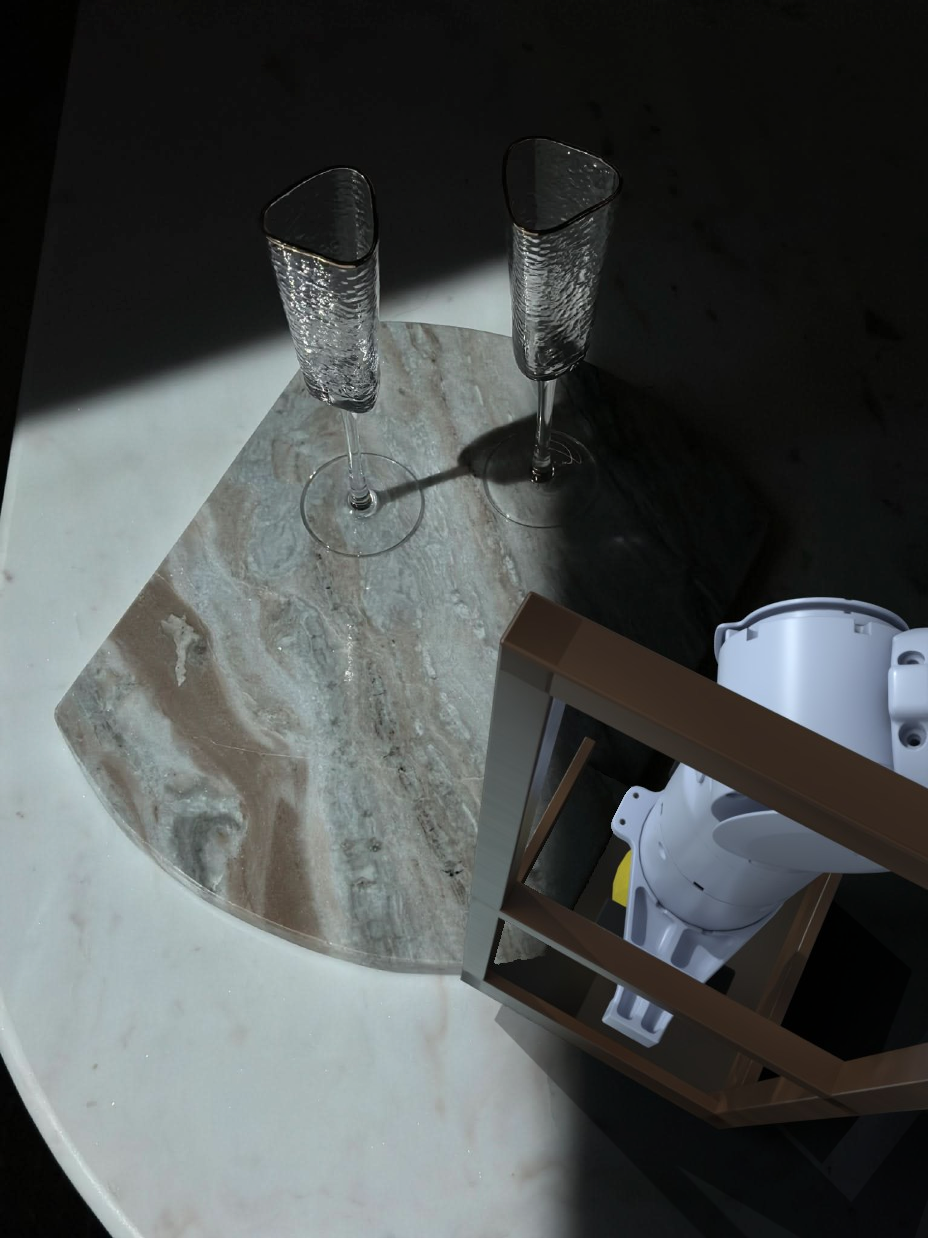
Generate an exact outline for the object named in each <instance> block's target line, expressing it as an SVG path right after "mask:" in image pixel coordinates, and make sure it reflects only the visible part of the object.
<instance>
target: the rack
mask: <svg viewBox="0 0 928 1238" xmlns="http://www.w3.org/2000/svg"><path fill="white" fill-rule="evenodd" d="M494 678H495V679H494V687H493V696H492V703H491V704H492V705H491V714H490V722H489V729H488V730H489V731H488V739H487V748H486V749H487V750H486V757H485V765H484V774H483V780H482V781H483V782H482V792H481V799H480V808H479V816H478V817H479V818H478V825H477V834H476V843H475V852H474V861H473V869H472V877H471V879H472V880H471V886H470V893H469V903H468V910H467V912H468V913H467V921H466V928H465V929H466V930H465V938H464V939H465V940H464V946H463V955H462V964H461V969H460V977H459V980H460V981H461V982H463V983H464V984H466V985H469V986H470V987H472V988H474V989H475V990H477V991H478V992H480V993H481V994H484V995H485V996H487V997H489V998H491V999H492V1000H495V1002H497V1003H498V1004H501V1005H503V1006H505V1007H506V1008H507V1009H510V1010H512V1011H513V1012H515V1013H517V1014H518V1015H520V1016H522V1017H523V1018H524V1019H527V1020H529V1021H530V1022H532V1023H534V1024H536V1025H538V1026H539V1027H541V1028H542V1029H544V1030H546V1031H547V1032H550V1033H551V1034H553V1035H555V1036H556V1037H558V1038H560V1039H561V1040H563V1041H565V1042H566V1043H568V1044H570V1045H572V1046H574V1047H575V1048H577V1049H578V1050H581V1051H582V1052H584V1053H586V1054H587V1055H589V1056H591V1057H593V1059H596V1060H598V1061H600V1062H601V1063H603V1064H604V1065H606V1066H608V1067H610V1068H612V1069H613V1070H615V1071H617V1072H618V1073H620V1074H622V1075H624V1076H625V1077H627V1078H629V1079H630V1080H632V1081H634V1082H636V1083H638V1084H639V1085H641V1086H643V1087H644V1088H646V1089H648V1090H650V1091H651V1092H653V1093H655V1094H656V1095H658V1096H659V1097H662V1098H663V1099H666V1100H667V1101H669V1102H670V1103H672V1104H674V1105H676V1106H677V1107H679V1108H681V1109H683V1110H685V1112H687V1113H689V1114H691V1115H692V1116H694V1117H697V1118H698V1119H700V1120H701V1121H704V1122H705V1123H707V1124H708V1125H710V1126H712V1127H713V1128H715V1129H717V1130H724V1129H734V1128H741V1127H753V1126H763V1125H772V1124H773V1125H774V1124H784V1123H793V1122H804V1121H805V1122H806V1121H814V1120H824V1119H835V1118H836V1119H837V1118H846V1117H860V1116H861V1117H862V1116H865V1115H866V1116H867V1115H868V1116H869V1115H877V1114H886V1113H887V1114H889V1113H900V1112H908V1111H920V1110H928V1042H923V1043H919V1044H915V1045H909V1046H906V1047H901V1048H898V1049H894V1050H888V1051H885V1052H880V1053H876V1054H871V1055H866V1056H863V1057H859V1058H854V1059H850V1060H846V1061H844V1060H843V1059H841V1058H839V1057H837V1056H836V1055H834V1054H832V1053H830V1052H828V1051H827V1050H826V1049H825V1050H824V1049H823V1048H821V1047H819V1046H818V1045H816V1044H814V1043H812V1042H810V1041H808V1040H806V1038H805V1039H804V1037H802V1036H799V1034H795V1033H794V1032H792V1031H791V1030H788V1029H787V1028H785V1027H783V1026H781V1025H782V1023H783V1022H784V1021H783V1020H784V1019H785V1015H786V1014H787V1010H788V1009H789V1006H790V1004H791V1001H792V999H793V996H794V994H795V991H796V989H797V987H798V984H799V982H800V980H801V977H802V974H803V972H804V970H805V968H806V965H807V962H808V960H809V958H810V955H811V953H812V950H813V948H814V945H815V943H816V941H817V938H818V936H819V933H820V931H821V928H822V926H823V923H824V922H825V919H826V916H827V913H828V911H829V909H830V906H831V904H832V902H833V899H834V897H835V895H836V892H837V890H838V888H839V887H838V886H839V885H840V882H841V880H842V877H843V875H844V873H825V872H823V873H822V874H821V875H819V876H818V877H817V878H815V879H814V880H813V881H811V882H810V883H809V884H807V885H806V886H804V887H803V888H802V889H800V890H799V891H798V892H796V893H795V894H794V895H793V896H791V897H790V898H789V899H787V900H786V901H785V902H784V903H783V905H782V906H781V908H780V909H779V910H778V911H777V912H776V914H775V915H774V916H773V917H772V918H771V919H770V920H769V921H768V922H767V923H766V924H765V925H764V926H763V927H762V928H761V929H760V930H759V931H758V932H757V933H756V934H755V935H754V936H752V937H751V938H750V939H749V940H748V941H747V942H746V943H745V944H744V945H743V946H742V947H741V948H740V949H739V950H738V951H737V952H736V953H735V954H734V955H733V956H732V957H731V958H730V959H729V960H728V961H727V962H726V963H725V964H724V965H726V966H728V967H730V968H731V969H733V970H735V976H734V979H733V981H732V983H731V986H730V988H729V990H728V992H727V995H726V996H725V995H724V994H722V993H720V992H718V991H716V990H715V989H713V988H711V987H709V986H707V985H706V984H704V983H702V982H700V981H698V980H697V979H695V978H693V977H691V976H689V975H687V974H686V973H684V972H682V971H680V970H678V969H677V968H675V967H673V966H671V965H669V964H668V963H666V962H664V961H662V960H660V959H659V958H657V957H655V956H653V955H651V954H650V953H648V952H646V951H644V950H642V949H641V948H639V947H637V946H635V945H633V944H632V943H630V942H628V941H626V940H624V939H622V938H621V937H619V936H617V935H615V934H613V933H612V932H610V931H608V930H606V929H604V928H603V927H601V926H599V925H597V924H595V921H596V919H597V917H598V915H599V913H600V911H601V909H602V907H603V905H604V903H605V901H606V899H607V897H608V898H610V899H612V897H613V882H614V879H615V876H616V873H617V870H618V867H619V865H620V864H621V862H622V861H623V859H624V857H625V856H626V854H627V853H628V852H629V851H630V850H631V848H630V845H629V844H628V843H627V842H626V841H624V840H622V839H620V838H619V837H617V836H616V835H615V834H614V833H613V834H612V837H611V838H610V840H609V843H608V845H607V846H606V850H605V852H604V853H603V855H602V856H601V858H600V859H599V861H598V864H597V866H596V867H595V869H594V872H593V873H592V876H591V877H590V879H589V883H588V884H587V885H586V888H585V889H584V891H583V893H582V894H581V896H580V898H579V899H578V902H577V904H576V905H575V907H574V910H573V911H572V910H570V909H568V908H567V907H565V906H563V905H561V904H559V903H557V902H556V901H554V900H552V899H550V898H548V897H547V896H545V895H543V894H541V893H539V892H538V891H536V890H534V889H532V888H530V887H529V886H527V885H525V884H524V883H525V881H526V879H527V877H528V875H529V873H530V871H531V870H532V868H533V866H534V864H535V862H536V860H537V858H538V856H539V854H540V852H541V851H542V849H543V847H544V845H545V843H546V841H547V839H548V838H549V836H550V834H551V832H552V830H553V828H554V826H555V824H556V822H557V820H558V819H559V817H560V815H561V813H562V811H563V809H564V807H565V805H566V803H567V802H568V800H569V798H570V796H571V794H572V792H573V790H574V788H575V787H576V785H577V783H578V781H579V779H580V777H581V775H582V773H583V771H584V769H585V768H586V766H587V764H588V765H589V761H590V759H591V756H592V754H593V751H594V749H595V745H596V743H597V741H596V740H594V739H592V738H590V737H588V736H585V737H584V738H583V740H582V742H581V744H580V745H579V747H578V749H577V751H576V753H575V755H574V757H573V758H572V761H571V763H570V764H569V766H568V768H567V770H566V772H565V774H564V776H563V778H562V779H561V781H560V783H559V785H558V787H557V789H556V791H555V793H554V795H553V796H552V798H551V800H550V801H549V803H548V806H547V807H546V809H545V811H544V813H543V815H542V816H541V818H540V820H539V822H538V824H537V825H536V827H535V830H534V831H533V833H532V835H531V836H530V834H531V831H532V827H533V824H534V820H535V816H536V812H537V809H538V805H539V802H540V798H541V794H542V790H543V787H544V785H545V780H546V777H547V773H548V770H549V766H550V762H551V759H552V755H553V751H554V747H555V744H556V740H557V736H558V733H559V730H560V725H561V723H562V718H563V716H564V713H565V712H564V711H565V708H566V705H569V706H570V707H572V708H574V709H576V710H578V711H580V712H581V713H584V714H586V715H587V716H590V717H592V718H593V719H595V720H598V721H600V722H602V723H603V724H605V725H607V726H609V727H611V728H613V729H615V730H617V731H619V732H620V733H623V734H625V735H627V736H629V737H630V738H632V739H634V740H636V741H638V742H640V743H642V744H644V745H646V746H648V747H650V748H652V749H654V750H656V751H657V752H660V753H661V754H663V755H665V756H667V757H669V758H671V759H673V760H674V761H675V760H677V761H679V762H681V763H683V764H685V765H687V766H689V767H690V768H692V769H694V770H696V771H698V772H700V773H702V774H704V775H706V776H708V777H710V778H712V779H714V780H716V781H718V782H720V783H721V784H723V785H725V786H727V787H729V788H731V789H733V790H735V791H737V792H739V793H741V794H743V795H745V796H747V797H749V798H751V799H752V800H754V801H756V802H758V803H760V804H762V805H764V806H766V807H768V808H770V809H772V810H774V811H776V812H778V813H780V814H782V815H783V816H785V817H787V818H789V819H791V820H793V821H795V822H797V823H799V824H801V825H803V826H805V827H807V828H809V829H811V830H813V831H814V832H816V833H818V834H820V835H822V836H824V837H826V838H828V839H830V840H832V841H834V842H836V843H838V844H840V845H842V846H844V847H845V848H847V849H849V850H851V851H853V852H855V853H857V854H859V855H861V856H863V857H865V858H867V859H869V860H871V861H873V862H875V863H876V864H878V865H880V866H882V867H884V868H886V869H888V870H890V871H889V872H892V873H894V874H896V875H898V876H900V877H901V878H904V879H905V880H907V881H909V882H911V883H914V884H915V885H918V886H919V887H920V888H923V889H925V890H927V891H928V788H926V787H924V786H922V785H920V784H918V783H916V782H914V781H912V780H910V779H908V778H906V777H904V776H902V775H900V774H898V773H896V772H894V771H892V770H890V769H888V768H886V767H884V766H882V765H880V764H878V763H876V762H874V761H872V760H870V759H868V758H866V757H864V756H862V755H860V754H858V753H856V752H854V751H852V750H850V749H848V748H846V747H844V746H842V745H840V744H838V743H836V742H834V741H832V740H830V739H828V738H826V737H824V736H822V735H820V734H818V733H816V732H814V731H812V730H810V729H808V728H806V727H804V726H802V725H800V724H798V723H796V722H794V721H792V720H790V719H788V718H786V717H784V716H782V715H780V714H778V713H776V712H774V711H772V710H770V709H768V708H766V707H764V706H762V705H760V704H758V703H756V702H754V701H752V700H750V699H748V698H746V697H744V696H742V695H740V694H738V693H736V692H734V691H732V690H730V689H728V688H726V687H724V686H722V685H720V684H718V683H717V681H714V680H712V679H710V678H708V677H706V676H704V675H701V674H700V673H697V672H695V671H694V670H691V669H690V668H688V667H685V666H684V665H682V664H679V663H678V662H675V661H674V660H671V659H670V658H667V656H663V655H661V654H659V653H657V652H655V651H654V650H651V649H649V648H648V647H645V646H643V645H642V644H639V643H637V642H636V641H633V640H631V639H629V638H627V637H626V636H623V635H621V634H619V633H617V632H616V631H613V630H611V629H609V628H607V627H606V626H604V625H601V624H599V623H597V622H595V621H593V620H591V619H589V618H588V617H585V616H584V615H581V614H579V613H577V612H575V611H574V610H571V609H569V608H567V607H565V606H563V605H562V604H560V603H558V602H556V601H554V600H552V599H549V598H547V597H546V596H544V595H541V594H539V593H537V592H536V591H531V590H530V591H529V592H527V593H526V595H525V597H523V600H522V602H520V605H519V607H518V608H517V610H516V612H515V613H514V615H513V616H512V619H511V620H510V622H509V623H508V625H507V626H506V628H505V630H504V632H503V634H502V635H501V637H500V638H499V645H498V652H497V661H496V670H495V677H494ZM634 798H635V797H634ZM620 824H621V823H620ZM621 825H623V824H621ZM529 838H530V839H529ZM505 921H506V922H508V923H510V924H512V925H513V926H515V927H517V928H519V929H521V930H522V931H524V932H526V933H528V934H529V935H531V936H533V937H535V938H537V939H538V940H540V941H542V942H544V943H545V944H547V945H549V946H551V948H549V949H548V951H547V952H546V954H545V956H542V957H541V956H538V957H535V958H533V959H527V960H521V959H517V960H514V961H513V962H508V963H500V964H499V965H498V964H495V963H494V960H495V957H496V953H497V949H498V946H499V942H500V939H501V935H502V931H503V928H504V924H505ZM617 985H620V986H622V987H624V988H625V989H627V990H629V991H631V992H633V993H634V994H636V995H638V996H640V997H641V998H643V999H645V1000H647V1001H649V1002H650V1003H652V1004H654V1005H656V1006H657V1007H659V1008H661V1009H663V1010H665V1011H666V1012H668V1013H670V1014H672V1015H673V1016H674V1017H673V1018H672V1020H671V1021H670V1023H669V1024H668V1026H667V1028H666V1030H665V1032H664V1034H663V1035H662V1037H661V1039H660V1041H659V1043H657V1044H655V1045H653V1046H652V1047H649V1048H648V1047H646V1046H644V1045H642V1044H641V1043H639V1042H637V1041H635V1040H633V1039H632V1038H630V1037H628V1036H626V1035H625V1034H623V1033H621V1032H619V1031H618V1030H616V1029H614V1028H613V1027H611V1026H609V1025H607V1024H606V1023H604V1022H603V1021H602V1018H603V1016H604V1014H605V1012H606V1010H607V1008H608V1006H609V1004H610V1002H611V1000H612V999H613V998H614V996H615V993H616V989H617ZM764 1068H766V1069H768V1070H769V1071H770V1072H773V1073H774V1074H776V1075H778V1076H777V1077H772V1078H768V1079H764V1080H759V1079H760V1076H761V1074H762V1071H763V1069H764Z"/></svg>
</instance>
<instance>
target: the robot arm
mask: <svg viewBox="0 0 928 1238" xmlns="http://www.w3.org/2000/svg"><path fill="white" fill-rule="evenodd" d="M713 640H714V641H713V642H714V645H713V646H714V647H713V648H714V655H715V659H716V662H717V664H718V666H717V681H716V683H718V684H720V685H722V686H724V687H726V688H728V689H730V690H732V691H734V692H736V693H738V694H740V695H742V696H744V697H746V698H748V699H750V700H752V701H754V702H756V703H758V704H760V705H762V706H764V707H766V708H768V709H770V710H772V711H774V712H776V713H778V714H780V715H782V716H784V717H786V718H788V719H790V720H792V721H794V722H796V723H798V724H800V725H802V726H804V727H806V728H808V729H810V730H812V731H814V732H816V733H818V734H820V735H822V736H824V737H826V738H828V739H830V740H832V741H834V742H836V743H838V744H840V745H842V746H844V747H846V748H848V749H850V750H852V751H854V752H856V753H858V754H860V755H862V756H864V757H866V758H868V759H870V760H872V761H874V762H876V763H878V764H880V765H882V766H884V767H886V768H888V769H890V770H892V771H894V772H896V773H898V774H900V775H902V776H904V777H906V778H908V779H910V780H912V781H914V782H916V783H918V784H920V785H922V786H924V787H926V788H928V627H918V628H912V629H910V628H909V626H908V623H906V622H905V621H904V619H903V618H901V616H899V615H897V614H896V613H894V612H893V611H891V610H888V609H887V608H884V607H881V606H879V605H876V604H872V603H869V602H865V601H861V600H856V599H850V600H849V599H845V598H841V597H823V596H822V597H818V596H817V597H801V598H794V599H787V600H781V601H778V602H774V603H771V604H767V605H765V606H763V607H759V608H758V609H756V610H753V612H751V613H749V614H748V615H747V616H746V617H744V618H743V619H742V620H741V621H736V622H726V623H721V624H719V625H717V627H716V629H715V633H714V639H713ZM668 778H669V781H668V782H667V784H666V786H665V787H664V789H662V790H661V791H656V792H655V791H651V790H649V789H647V788H645V787H644V786H643V787H642V786H639V785H634V786H630V787H631V788H630V789H629V790H628V791H627V792H626V794H625V795H624V797H623V799H622V801H621V803H620V805H619V807H618V809H617V811H616V813H615V815H614V817H613V819H612V822H611V829H612V831H613V833H614V834H615V835H616V836H617V837H619V838H620V839H622V840H624V841H626V842H627V843H628V844H629V845H630V848H631V852H632V856H631V867H630V877H629V887H628V898H627V907H625V906H623V905H621V904H619V903H617V902H616V901H614V900H612V899H610V898H608V897H607V899H606V901H605V903H604V905H603V907H602V909H601V911H600V913H599V915H598V917H597V919H596V921H595V924H597V925H599V926H601V927H603V928H604V929H606V930H608V931H610V932H612V933H613V934H615V935H617V936H619V937H621V938H622V939H624V940H626V941H628V942H630V943H632V944H633V945H635V946H637V947H639V948H641V949H642V950H644V951H646V952H648V953H650V954H651V955H653V956H655V957H657V958H659V959H660V960H662V961H664V962H666V963H668V964H669V965H671V966H673V967H675V968H677V969H678V970H680V971H682V972H684V973H686V974H687V975H689V976H691V977H693V978H695V979H697V980H698V981H700V982H702V983H704V984H706V985H707V986H709V987H711V988H713V989H715V990H716V991H718V992H720V993H722V994H724V995H725V996H726V995H727V992H728V990H729V988H730V986H731V983H732V981H733V979H734V976H735V970H733V969H731V968H730V967H728V966H726V965H724V964H725V963H726V962H727V961H728V960H729V959H730V958H731V957H732V956H733V955H734V954H735V953H736V952H737V951H738V950H739V949H740V948H741V947H742V946H743V945H744V944H745V943H746V942H747V941H748V940H749V939H750V938H751V937H752V936H754V935H755V934H756V933H757V932H758V931H759V930H760V929H761V928H762V927H763V926H764V925H765V924H766V923H767V922H768V921H769V920H770V919H771V918H772V917H773V916H774V915H775V914H776V912H777V911H778V910H779V909H780V908H781V906H782V905H783V903H784V902H785V901H786V900H787V899H789V898H790V897H791V896H793V895H794V894H795V893H796V892H798V891H799V890H800V889H802V888H803V887H804V886H806V885H807V884H809V883H810V882H812V881H813V880H814V879H816V878H817V877H818V876H820V875H821V874H822V873H824V872H825V873H843V874H876V873H878V874H879V873H888V872H889V873H890V872H891V871H890V870H888V869H886V868H884V867H882V866H880V865H878V864H876V863H875V862H873V861H871V860H869V859H867V858H865V857H863V856H861V855H859V854H857V853H855V852H853V851H851V850H849V849H847V848H845V847H844V846H842V845H840V844H838V843H836V842H834V841H832V840H830V839H828V838H826V837H824V836H822V835H820V834H818V833H816V832H814V831H813V830H811V829H809V828H807V827H805V826H803V825H801V824H799V823H797V822H795V821H793V820H791V819H789V818H787V817H785V816H783V815H782V814H780V813H778V812H776V811H774V810H772V809H770V808H768V807H766V806H764V805H762V804H760V803H758V802H756V801H754V800H752V799H751V798H749V797H747V796H745V795H743V794H741V793H739V792H737V791H735V790H733V789H731V788H729V787H727V786H725V785H723V784H721V783H720V782H718V781H716V780H714V779H712V778H710V777H708V776H706V775H704V774H702V773H700V772H698V771H696V770H694V769H692V768H690V767H689V766H687V765H685V764H683V763H681V762H679V761H677V760H675V759H674V762H673V764H672V766H671V768H670V770H669V772H668ZM634 797H635V798H634ZM620 823H621V824H623V825H621V824H620ZM673 1017H674V1016H673V1015H672V1014H670V1013H668V1012H666V1011H665V1010H663V1009H661V1008H659V1007H657V1006H656V1005H654V1004H652V1003H650V1002H649V1001H647V1000H645V999H643V998H641V997H640V996H638V995H636V994H634V993H633V992H631V991H629V990H627V989H625V988H624V987H622V986H620V985H617V989H616V993H615V996H614V998H613V999H612V1000H611V1002H610V1004H609V1006H608V1008H607V1010H606V1012H605V1014H604V1016H603V1018H602V1021H603V1022H604V1023H606V1024H607V1025H609V1026H611V1027H613V1028H614V1029H616V1030H618V1031H619V1032H621V1033H623V1034H625V1035H626V1036H628V1037H630V1038H632V1039H633V1040H635V1041H637V1042H639V1043H641V1044H642V1045H644V1046H646V1047H648V1048H649V1047H652V1046H653V1045H655V1044H657V1043H659V1041H660V1039H661V1037H662V1035H663V1034H664V1032H665V1030H666V1028H667V1026H668V1024H669V1023H670V1021H671V1020H672V1018H673Z"/></svg>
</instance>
